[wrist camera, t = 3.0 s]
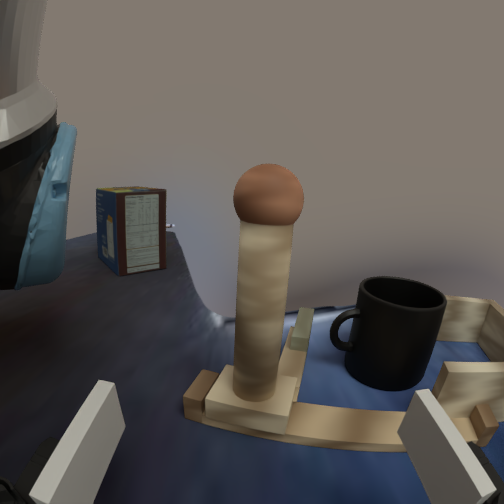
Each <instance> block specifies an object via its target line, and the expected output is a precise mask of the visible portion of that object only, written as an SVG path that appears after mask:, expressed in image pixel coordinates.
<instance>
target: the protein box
mask: <svg viewBox="0 0 504 504" xmlns="http://www.w3.org/2000/svg"><path fill="white" fill-rule="evenodd" d="M96 216H97V243H98V257H99V258H100V259H101V260H102V261H103V262H104V263H105V264H106V265H107V266H108V267H109V268H110V269H111V270H112V271H113V272H114V273H115V274H116V275H117V276H124V275H130V274H135V273H141V272H147V271H153V270H159V269H165V268H166V190H165V189H156V188H147V187H146V188H145V187H113V188H97V189H96Z"/></svg>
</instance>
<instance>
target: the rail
mask: <svg viewBox="0 0 504 504" xmlns="http://www.w3.org/2000/svg"><path fill="white" fill-rule="evenodd" d="M218 377H219V373H216V372H212V371H208V370H204V369H202V371H201V372H200V374H199V375H198V376H197V378H196V379H195V380H194V382H193V383H192V385H191V386H190V387H189V389H188V390H187V391H186V393H185V394H184V395H183V403H184V413H185V418H186V419H189V420H193V421H196V422H200V423H203V424H207V425H210V426H214V427H218V428H221V429H225V430H229V431H233V432H238V433H242V434H246V435H251V436H255V437H260V438H265V439H271V440H276V441H282V442H287V443H294V444H300V445H307V446H315V447H323V448H332V449H343V450H356V451H374V452H407V451H406V449H405V447H404V445H403V443H402V441H401V439H400V437H399V435H398V433H397V430H398V428H399V426H400V424H401V422H402V420H403V418H404V416H405V414H406V412H393V411H375V410H361V409H350V408H340V407H331V406H323V405H315V404H308V403H301V402H293V403H292V407H291V411H290V415H289V419H288V423H287V427H286V431H285V435H283V434H277V433H272V432H267V431H261V430H257V429H252V428H247V427H243V426H238V425H234V424H230V423H226V422H222V421H218V420H214V419H211V418H207V417H206V410H205V398H206V396H207V395H208V393H209V392H210V390H211V388H212V387H213V385H214V384H215V382H216V380H217V379H218ZM450 420H451V421H452V422H453V424H454V425H455V427H456V428H457V430H458V431H459V432H460V434H461V435H462V437H463V438H464V440H465V441H466V443H468V442H471V441H472V442H473V443H475V444H476V445H478V446H479V447H484V446H486V445H487V444H488V442H489V441H490V439H491V438H492V436H493V435H494V433H495V432H496V430H497V428H498V427H499V424H498V422H497V420H496V418H495V416H494V414H493V412H492V410H491V408H490V406H489V404H481V405H476V406H475V408H474V409H473V411H472V413H471V415H470V417H467V418H450Z"/></svg>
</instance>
